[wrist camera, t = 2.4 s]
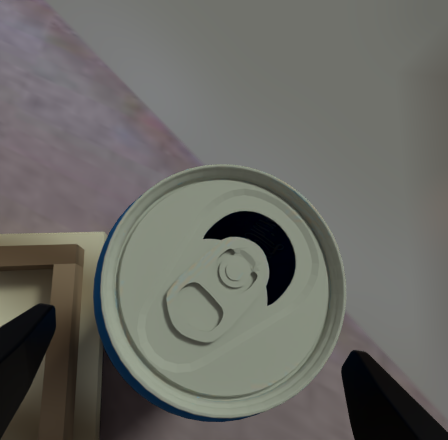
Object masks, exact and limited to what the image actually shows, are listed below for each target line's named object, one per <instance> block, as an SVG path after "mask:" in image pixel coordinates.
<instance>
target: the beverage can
mask: <svg viewBox="0 0 448 440" xmlns="http://www.w3.org/2000/svg"><path fill="white" fill-rule="evenodd" d="M93 302H94V315H95V319H96V324H97V328H98V333H99V335H100V338H101V341H102V343H103V346H104V349H105V351H106V353H107V354H108V356H109V358H110V360H111V362H112V364H113V365H114V367H115V368H116V369H117V371H118V372H119V373H120V375H121V376H122V377H123V379H124V380H125V381H126V382H127V383H128V384H129V385H130V386H131V387H132V388H133V389H134V390H135V391H136V392H137V393H138V394H140V395H141V396H142V397H144V398H145V399H147V400H148V401H149V402H151V403H152V404H154V405H156V406H158V407H160V408H161V409H163V410H165V411H167V412H169V413H172V414H175V415H178V416H181V417H184V418H188V419H193V420H199V421H207V422H225V421H233V420H240V419H244V418H247V417H251V416H254V415H257V414H259V413H262V412H265V411H267V410H269V409H272V408H274V407H276V406H278V405H281V404H282V403H284V402H286V401H287V400H289V399H290V398H292V397H293V396H295V395H296V394H298V393H299V392H300V391H301V390H302V389H303V388H304V387H306V386H307V385H308V384H309V383H310V382H311V381H312V380H313V378H314V377H315V376H316V375H317V374H318V373H319V372H320V370H321V369H322V367H323V366H324V364H325V363H326V361H327V360H328V358H329V357H330V355H331V353H332V351H333V349H334V347H335V344H336V342H337V340H338V337H339V334H340V331H341V328H342V324H343V319H344V314H345V305H346V278H345V272H344V267H343V262H342V258H341V255H340V252H339V248H338V246H337V244H336V241H335V239H334V237H333V234H332V232H331V231H330V229H329V227H328V225H327V224H326V222H325V220H324V219H323V218H322V216H321V215H320V214H319V212H318V211H317V210H316V209H315V208H314V206H313V205H312V204H311V203H310V202H309V201H308V200H307V199H306V198H305V197H304V196H303V195H302V194H300V193H299V192H298V191H297V190H295V189H294V188H292V187H291V186H290V185H288V184H287V183H285V182H284V181H282V180H280V179H278V178H276V177H274V176H273V175H270V174H267V173H265V172H262V171H260V170H256V169H253V168H249V167H244V166H237V165H223V164H216V165H206V166H200V167H195V168H191V169H187V170H185V171H182V172H179V173H176V174H174V175H172V176H170V177H168V178H166V179H164V180H162V181H160V182H159V183H157V184H156V185H154V186H153V187H152V188H150V189H149V190H147V191H146V192H145V193H144V194H143V195H141V196H140V197H139V198H138V199H137V200H136V201H134V202H133V203H132V204H131V205H130V206H129V207H128V208H127V209H126V211H125V212H124V213H123V214H122V215H121V216H120V217H119V219H118V220H117V222H116V223H115V225H114V226H113V228H112V229H111V231H110V233H109V235H108V237H107V239H106V241H105V243H104V245H103V247H102V250H101V253H100V256H99V259H98V262H97V267H96V272H95V277H94V290H93Z"/></svg>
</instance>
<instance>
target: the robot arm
mask: <svg viewBox="0 0 448 440" xmlns="http://www.w3.org/2000/svg"><path fill="white" fill-rule="evenodd" d="M55 330H56V309H55V306H54V305H51V304H44V303H39V304H36V305H35V306H33V307H32V308H30V309H28V310H27V311H25V312H23V313H22V314H20V315H19V316H17V317H15V318H14V319H12V320H11V321H9V322H7V323H6V324H4V325H2V326H1V327H0V440H1V438H2V436H3V434H4V433H5V431H6V429H7V427H8V426H9V424H10V422H11V420H12V419H13V417H14V415H15V413H16V412H17V410H18V408H19V406H20V405H21V403H22V401H23V400H24V398H25V396H26V394H27V392H28V390H29V389H30V387H31V385H32V382H33V380H34V378H35V376H36V374H37V371H38V369H39V367H40V365H41V362H42V360H43V358H44V356H45V354H46V351H47V349H48V347H49V345H50V342H51V340H52V338H53V336H54V333H55ZM341 374H342V380H343V386H344V391H345V397H346V402H347V408H348V413H349V419H350V423H351V428H352V432H353V435H354V439H355V440H448V432H447V431H446V430H445V429H444V428H443V427H442V426H441V425H440V424H439V423H438V422H437V421H436V420H435V419H434V418H433V417H432V416H431V415H430V414H429V413H428V412H427V411H426V410H425V409H424V408H423V407H422V406H421V405H420V404H419V403H418V402H417V401H416V400H415V399H413V398H412V397H411V396H410V395H409V394H408V393H407V392H406V391H405V390H404V389H403V388H402V387H401V386H400V385H399V384H398V383H397V382H396V381H395V380H394V379H393V378H392V377H391V376H390V375H389V374H388V373H387V372H386V371H385V370H384V369H383V368H382V367H381V366H380V365H379V364H378V363H377V362H376V361H375V360H374V359H373V358H372V357H371V356H370V355H369V354H368V353H366V352H364V351H358V350H353V351H351V353H350V354H349V356H348V357H347V359H346V361H345V362H344V364H343V366H342V370H341Z"/></svg>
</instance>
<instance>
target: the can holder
mask: <svg viewBox="0 0 448 440" xmlns="http://www.w3.org/2000/svg"><path fill="white" fill-rule="evenodd" d="M107 237H108V236H107V235H106V233H105V232H76V233H29V234H0V327H1V326H2V325H4V324H6V323H7V322H9V321H11V320H12V319H14V318H15V317H17V316H19V315H20V314H22V313H23V312H25V311H27V310H28V309H30V308H32V307H33V306H35V305H36V304H39V303H44V304H51V305H54V306H55V309H56V330H55V333H54V336H53V338H52V340H51V342H50V345H49V347H48V349H47V351H46V354H45V356H44V358H43V360H42V362H41V365H40V367H39V369H38V371H37V374H36V376H35V378H34V380H33V382H32V385H31V387H30V389H29V390H28V392H27V394H26V396H25V398H24V400H23V401H22V403H21V405H20V406H19V408H18V410H17V412H16V413H15V415H14V417H13V419H12V420H11V422H10V424H9V426H8V427H7V429H6V431H5V433H4V434H3V436H2V438H1V440H99V431H100V407H101V384H102V360H103V343H102V341H101V338H100V335H99V333H98V328H97V324H96V319H95V315H94V302H93V290H94V277H95V272H96V267H97V262H98V259H99V256H100V253H101V250H102V247H103V245H104V243H105V241H106V239H107Z"/></svg>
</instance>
